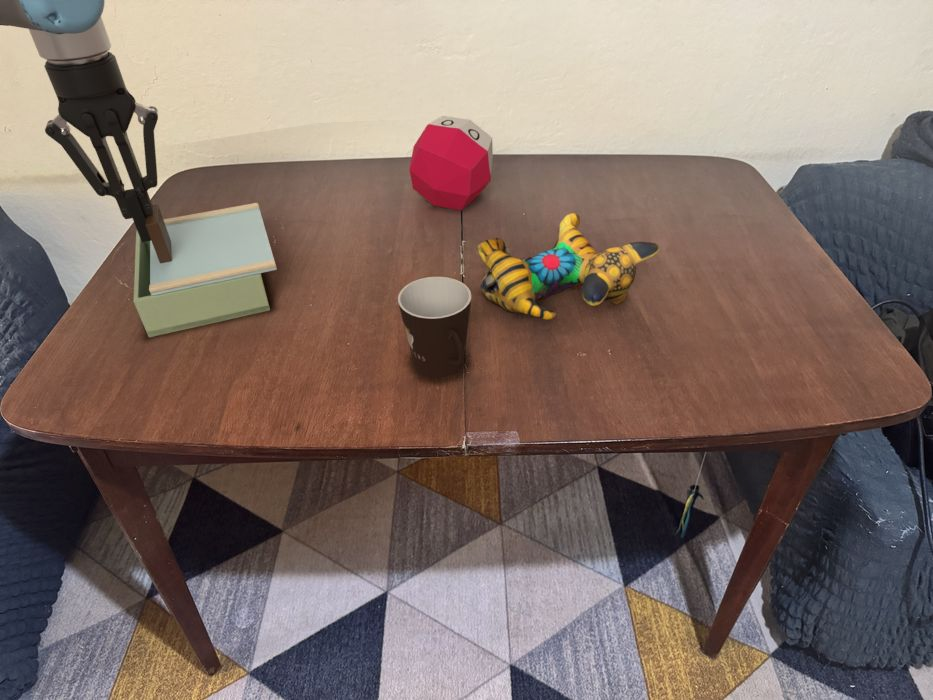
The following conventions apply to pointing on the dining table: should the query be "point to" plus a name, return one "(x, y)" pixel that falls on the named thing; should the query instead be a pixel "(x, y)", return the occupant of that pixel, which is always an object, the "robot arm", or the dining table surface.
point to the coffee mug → (436, 324)
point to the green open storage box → (193, 299)
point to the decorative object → (451, 162)
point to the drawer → (207, 247)
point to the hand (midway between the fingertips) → (147, 236)
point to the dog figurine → (560, 271)
